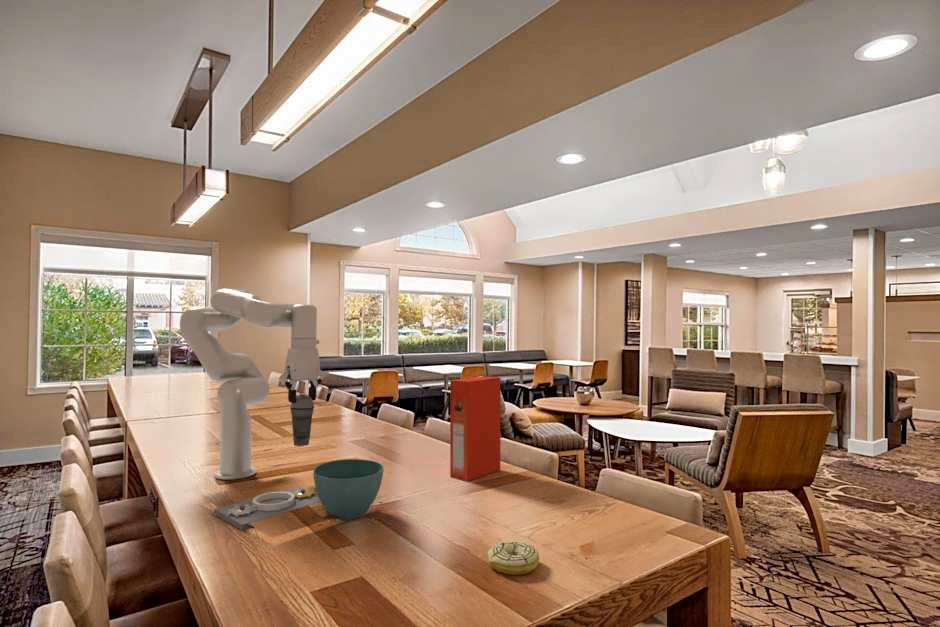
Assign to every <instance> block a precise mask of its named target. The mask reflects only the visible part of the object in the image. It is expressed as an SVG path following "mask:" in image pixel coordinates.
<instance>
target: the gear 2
mask: <svg viewBox="0 0 940 627" xmlns="http://www.w3.org/2000/svg"><path fill="white" fill-rule="evenodd" d="M315 490H316V489H308V488H304V489H302V490H295V492H291V493H292V494H294V499H298V500H302V499H305V498H307V499H309V498H311V497H312V496H315V495H316V493H317V491H315Z"/></svg>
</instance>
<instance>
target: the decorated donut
mask: <svg viewBox="0 0 940 627" xmlns="http://www.w3.org/2000/svg"><path fill="white" fill-rule="evenodd" d="M539 555H540V553H539V549H537V548H536V546H533V545H531V544H529V543H526V542H522V541H521V542H520V541H505V542H501V543H499V544H495V545H494V546H492V547H491V548H489V550H488V552H487V556H488V564H489V566H490V568H491V569H493V570H495V571H496V572H497V573H502V574H504V575H510V576H524V575H527V574H531V573H532V572H533V571H534V570H535V569H536V567H537V566H538V564H539V563H540V556H539Z"/></svg>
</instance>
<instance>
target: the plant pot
mask: <svg viewBox="0 0 940 627" xmlns="http://www.w3.org/2000/svg"><path fill="white" fill-rule="evenodd" d="M383 475H384V465H383V464H382V463H380V462H378V461H375V460H370V459H363V458H362V459H359V458H357V459H355V458H353V459H352V458H351V459H350V458H347V459H338V460H332V461H328V462H324V463H320V464H319V465H317V466H315V467H314V468H313V482H314V487H315V490H316V491H315V492H316V493H317V494H318V496H319V498H320V500H321V502H320V503H321V504H322V506H323V507H324V508H325V510H326V511H327V512H328V513H329V515H333V518H334V519H337V520H341V519H342V520H344V521H346V520H348V519H350V520H354V518H355V519H359V518H361V517H362V516H364V515H365V513H367V511H368V510H369V508H371V506H372V505H373V503H374V501H375V500H376V498H377V496H378V493H379V491H380V489H381V486H382V481H383ZM342 520H341V521H342ZM348 521H349V520H348Z"/></svg>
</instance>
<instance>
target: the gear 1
mask: <svg viewBox="0 0 940 627" xmlns="http://www.w3.org/2000/svg"><path fill="white" fill-rule="evenodd" d="M227 513H228V516H229V517H230V516H235V518H238V517H240V516H250V514H251V513H256V506H249V505H242V506H234V508H232V509H228V511H227Z"/></svg>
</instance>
